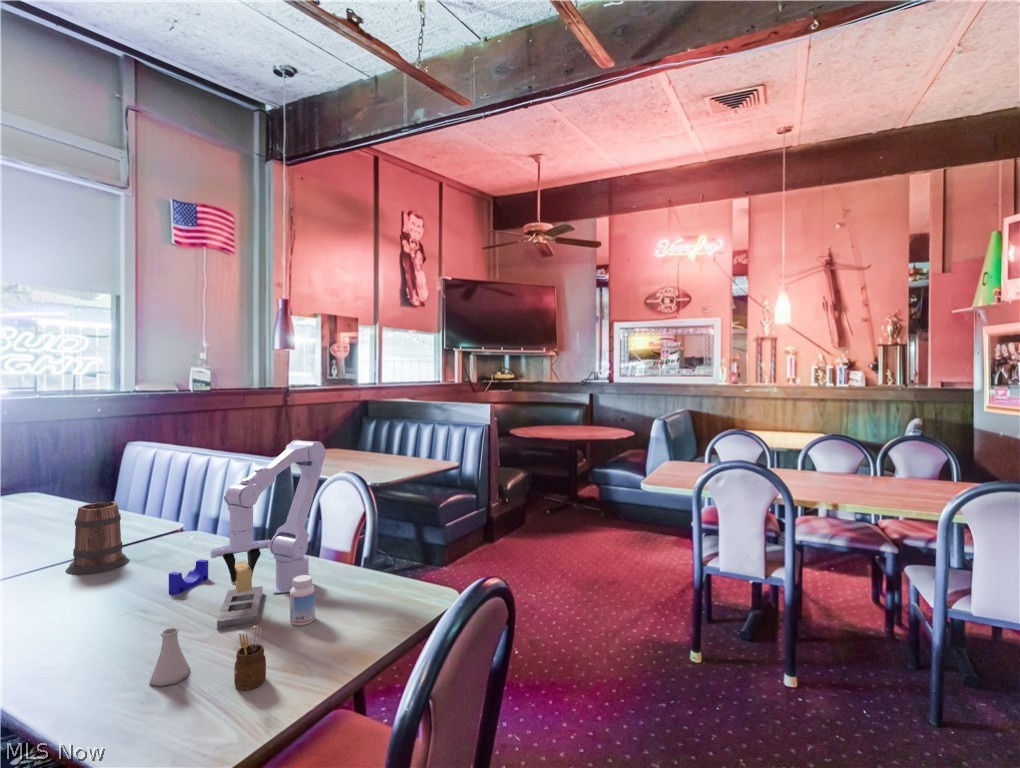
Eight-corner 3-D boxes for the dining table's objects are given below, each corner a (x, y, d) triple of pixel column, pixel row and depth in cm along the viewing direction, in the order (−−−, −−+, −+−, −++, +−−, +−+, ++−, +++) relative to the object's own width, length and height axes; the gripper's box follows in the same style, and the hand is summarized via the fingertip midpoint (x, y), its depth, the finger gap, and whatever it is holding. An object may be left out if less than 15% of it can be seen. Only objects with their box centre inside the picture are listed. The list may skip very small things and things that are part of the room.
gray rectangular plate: (262, 593, 156) (262, 586, 156) (256, 623, 137) (256, 615, 137) (227, 597, 153) (227, 590, 153) (216, 629, 134) (216, 621, 134)
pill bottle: (319, 617, 141) (320, 575, 141) (303, 628, 136) (304, 584, 135) (301, 614, 143) (301, 572, 143) (284, 624, 138) (284, 580, 137)
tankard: (139, 563, 179) (139, 503, 178) (77, 579, 165) (76, 514, 164) (108, 549, 192) (108, 494, 191) (49, 563, 177) (48, 503, 177)
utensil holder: (270, 674, 115) (270, 619, 115) (257, 692, 109) (257, 633, 108) (242, 674, 115) (242, 619, 114) (228, 692, 108) (228, 633, 108)
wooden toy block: (245, 580, 149) (245, 560, 149) (251, 589, 143) (251, 569, 143) (231, 583, 147) (231, 563, 147) (237, 593, 141) (237, 572, 141)
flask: (161, 668, 117) (161, 623, 116) (196, 667, 117) (196, 622, 117) (141, 688, 110) (141, 639, 109) (178, 687, 110) (178, 639, 110)
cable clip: (195, 578, 167) (195, 559, 167) (208, 579, 166) (208, 560, 166) (164, 593, 155) (164, 573, 155) (177, 595, 155) (177, 574, 154)
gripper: (266, 521, 152) (266, 568, 153) (208, 529, 143) (208, 580, 144) (272, 527, 147) (272, 576, 147) (212, 536, 138) (212, 588, 138)
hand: (241, 578), depth 145 cm, fingers closed on wooden toy block, 3 cm apart
